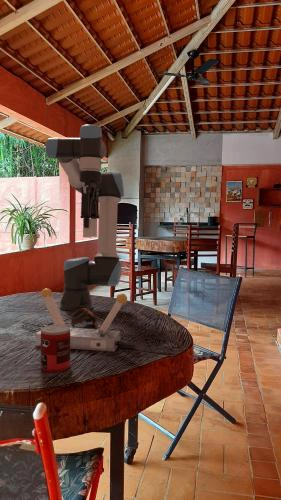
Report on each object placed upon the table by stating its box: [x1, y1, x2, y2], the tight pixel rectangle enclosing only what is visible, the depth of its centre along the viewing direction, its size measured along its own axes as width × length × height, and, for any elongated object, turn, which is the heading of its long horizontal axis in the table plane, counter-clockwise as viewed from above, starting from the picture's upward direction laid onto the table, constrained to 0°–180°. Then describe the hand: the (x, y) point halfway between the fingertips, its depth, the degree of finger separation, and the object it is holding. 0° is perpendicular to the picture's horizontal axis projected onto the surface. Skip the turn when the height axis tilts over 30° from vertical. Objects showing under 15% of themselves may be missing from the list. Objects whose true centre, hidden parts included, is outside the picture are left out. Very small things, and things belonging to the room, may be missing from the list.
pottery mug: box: [69, 308, 99, 329], centre depth 146 cm, size 12×10×8 cm
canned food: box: [40, 324, 71, 373], centre depth 104 cm, size 8×8×11 cm
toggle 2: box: [98, 293, 128, 335], centre depth 122 cm, size 4×4×15 cm
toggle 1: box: [40, 287, 67, 326], centre depth 125 cm, size 4×4×15 cm
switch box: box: [35, 327, 137, 353], centre depth 123 cm, size 10×32×4 cm, turn 81°
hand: (90, 236), depth 133 cm, fingers open, 6 cm apart
